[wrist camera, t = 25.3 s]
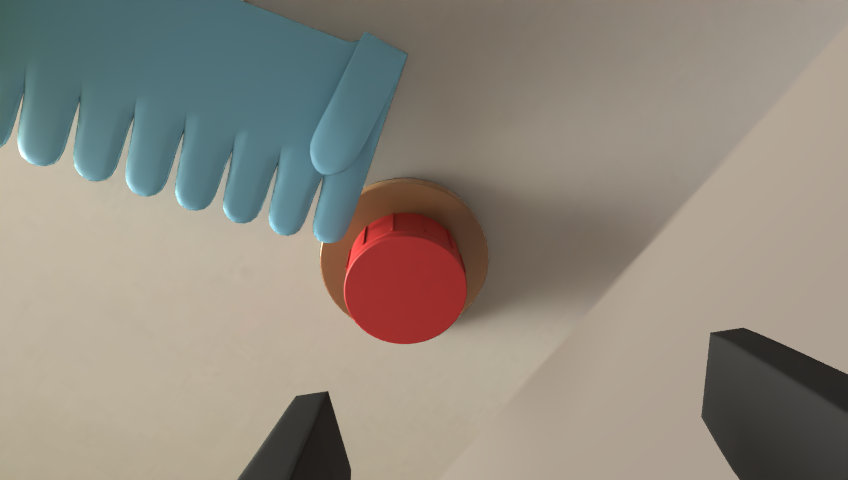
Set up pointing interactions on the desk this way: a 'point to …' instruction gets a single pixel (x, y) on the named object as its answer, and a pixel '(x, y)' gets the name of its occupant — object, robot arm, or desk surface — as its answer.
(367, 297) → the cap
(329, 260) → the coaster
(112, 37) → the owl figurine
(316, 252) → the desk surface
